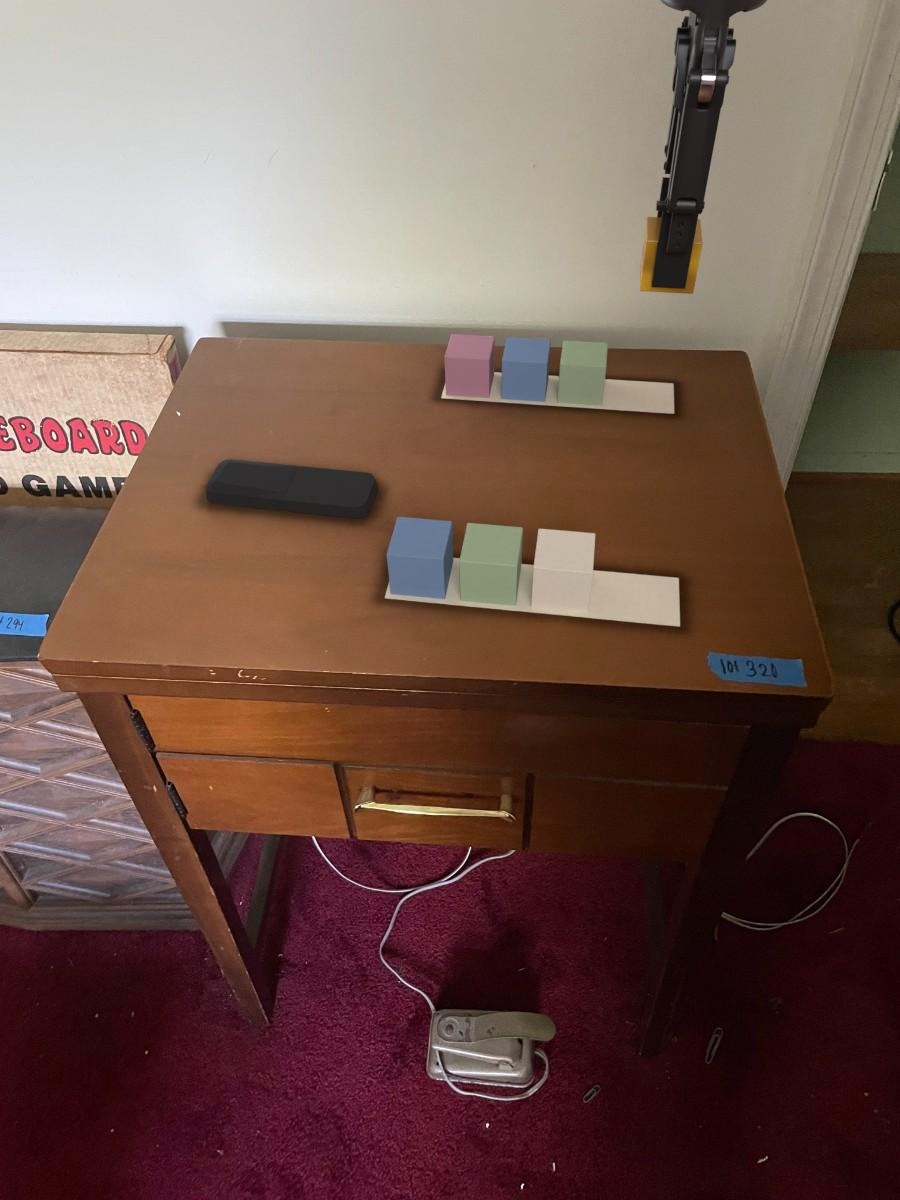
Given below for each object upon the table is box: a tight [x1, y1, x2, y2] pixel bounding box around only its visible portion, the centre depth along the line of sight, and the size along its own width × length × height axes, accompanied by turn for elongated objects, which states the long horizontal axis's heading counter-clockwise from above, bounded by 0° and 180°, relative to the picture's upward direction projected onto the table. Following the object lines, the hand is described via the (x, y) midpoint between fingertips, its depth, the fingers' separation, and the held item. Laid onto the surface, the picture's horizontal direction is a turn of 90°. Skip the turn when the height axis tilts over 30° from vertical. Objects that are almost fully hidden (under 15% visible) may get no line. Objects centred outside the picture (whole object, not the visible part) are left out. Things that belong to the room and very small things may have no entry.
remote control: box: [205, 458, 379, 519], centre depth 80 cm, size 5×2×15 cm
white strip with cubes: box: [384, 516, 681, 627], centre depth 70 cm, size 23×5×4 cm, turn 81°
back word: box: [440, 333, 675, 415], centre depth 89 cm, size 23×5×4 cm, turn 81°
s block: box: [639, 216, 703, 295], centre depth 75 cm, size 4×4×4 cm
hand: (667, 270), depth 76 cm, fingers closed on s block, 4 cm apart
